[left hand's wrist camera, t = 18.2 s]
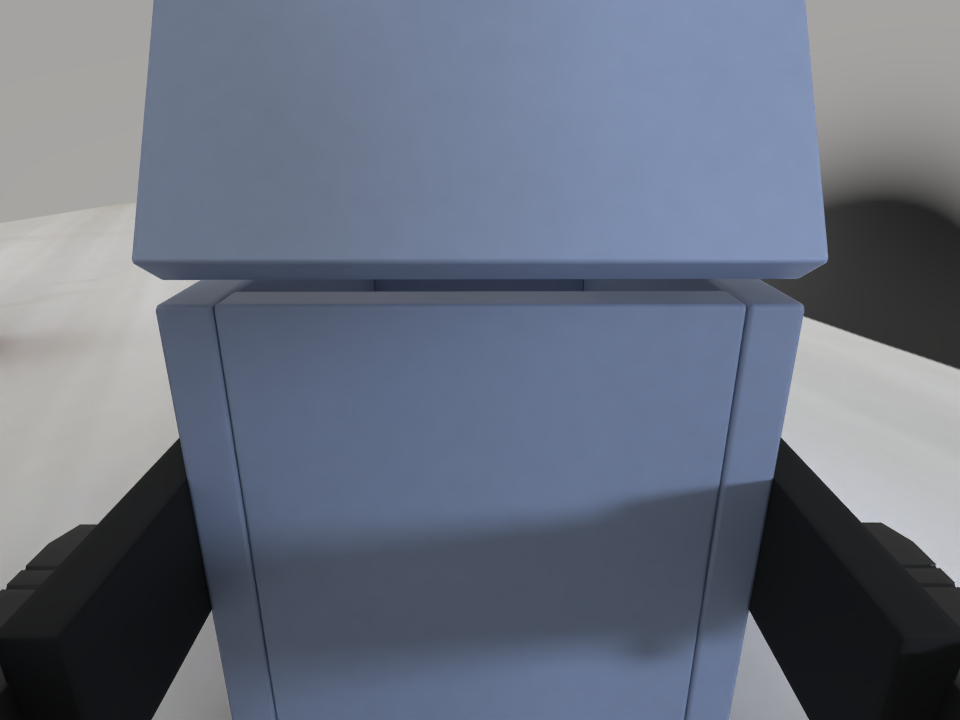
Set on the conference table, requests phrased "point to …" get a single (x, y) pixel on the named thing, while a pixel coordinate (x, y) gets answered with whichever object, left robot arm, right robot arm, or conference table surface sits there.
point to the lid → (479, 140)
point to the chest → (480, 490)
